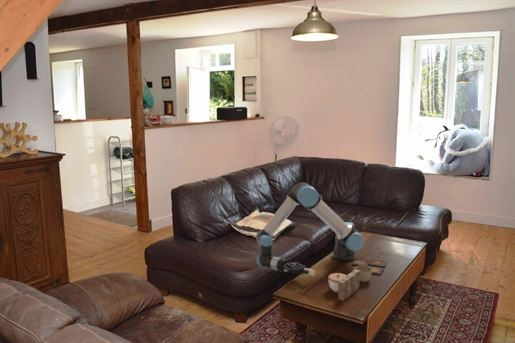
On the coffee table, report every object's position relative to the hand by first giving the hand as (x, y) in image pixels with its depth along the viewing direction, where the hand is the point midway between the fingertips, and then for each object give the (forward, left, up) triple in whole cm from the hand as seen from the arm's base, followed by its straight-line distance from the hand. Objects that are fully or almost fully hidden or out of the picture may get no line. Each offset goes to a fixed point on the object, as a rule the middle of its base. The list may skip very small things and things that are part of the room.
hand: (314, 272), depth 256 cm
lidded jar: (-1, +15, -7) cm, 16 cm away
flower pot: (-20, +21, -7) cm, 30 cm away
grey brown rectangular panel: (0, +22, -7) cm, 23 cm away
